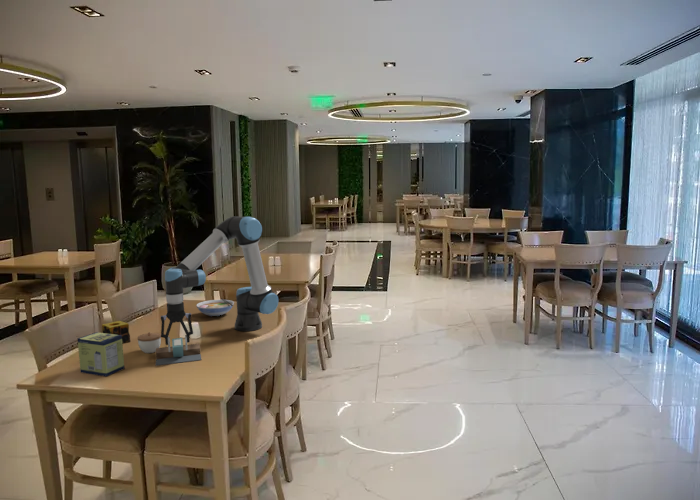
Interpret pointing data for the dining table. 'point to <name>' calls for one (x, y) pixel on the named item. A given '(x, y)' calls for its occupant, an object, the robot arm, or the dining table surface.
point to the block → (177, 347)
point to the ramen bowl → (215, 307)
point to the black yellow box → (117, 330)
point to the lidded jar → (149, 342)
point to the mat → (178, 359)
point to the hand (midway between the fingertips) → (178, 350)
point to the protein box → (101, 354)
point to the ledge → (164, 352)
